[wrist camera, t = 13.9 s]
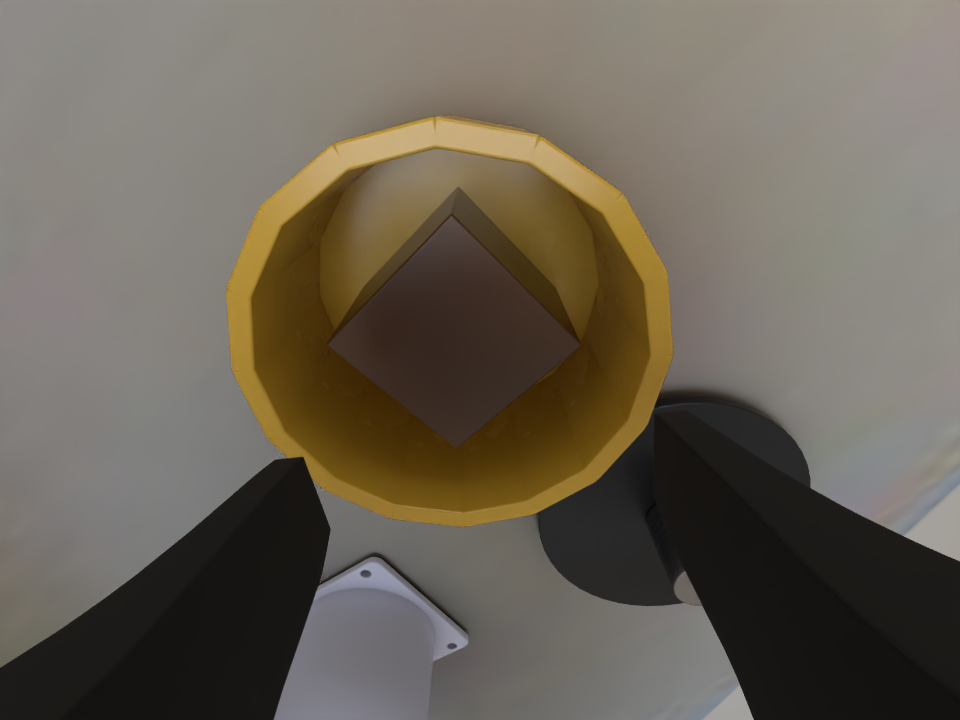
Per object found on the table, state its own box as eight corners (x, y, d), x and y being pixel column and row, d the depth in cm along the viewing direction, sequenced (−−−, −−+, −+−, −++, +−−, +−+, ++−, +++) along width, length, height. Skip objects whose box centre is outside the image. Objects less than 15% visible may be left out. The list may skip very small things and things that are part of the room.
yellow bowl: (434, 455, 22) (419, 576, 16) (241, 252, 18) (130, 318, 12) (662, 316, 19) (742, 404, 13) (496, 36, 15) (508, -11, 9)
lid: (613, 617, 27) (639, 711, 23) (485, 477, 23) (487, 561, 18) (832, 520, 24) (908, 607, 20) (734, 336, 19) (804, 397, 15)
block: (460, 373, 20) (456, 450, 15) (362, 287, 18) (324, 345, 14) (556, 288, 18) (582, 345, 14) (458, 185, 16) (451, 213, 12)
